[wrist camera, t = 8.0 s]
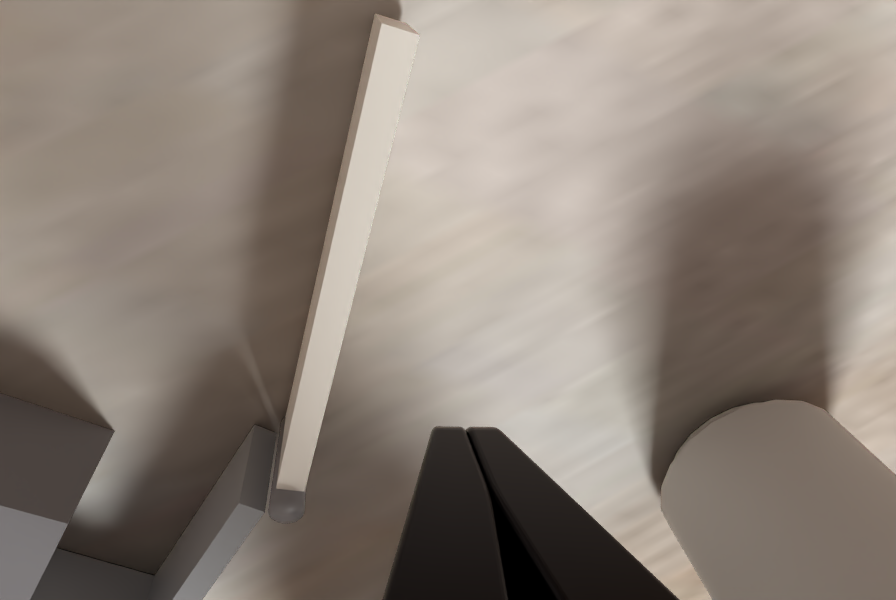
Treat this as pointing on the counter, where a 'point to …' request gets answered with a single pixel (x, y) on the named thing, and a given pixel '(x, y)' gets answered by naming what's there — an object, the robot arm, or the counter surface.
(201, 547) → the grey angular u-shape
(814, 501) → the can
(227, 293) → the counter surface
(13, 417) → the tilted gray brick
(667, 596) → the robot arm
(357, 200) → the cover
